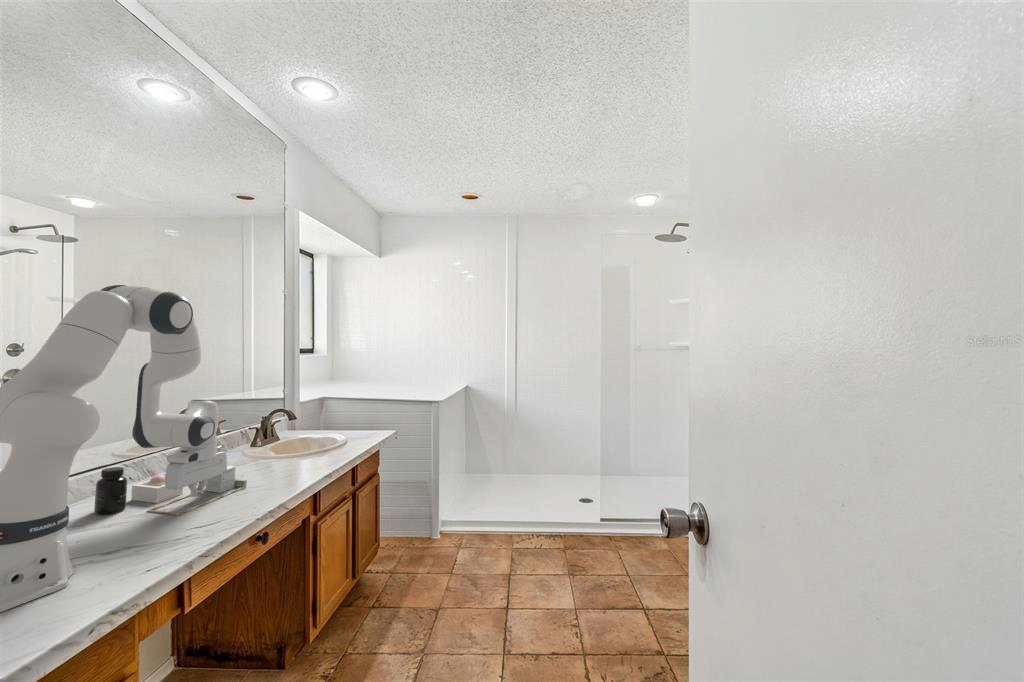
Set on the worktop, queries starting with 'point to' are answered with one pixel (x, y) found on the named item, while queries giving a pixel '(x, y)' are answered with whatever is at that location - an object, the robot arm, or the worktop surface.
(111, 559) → the worktop surface
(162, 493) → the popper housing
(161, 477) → the white pink rounded piece
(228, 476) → the product box
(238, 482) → the track
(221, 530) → the worktop surface
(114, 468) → the supplement bottle
